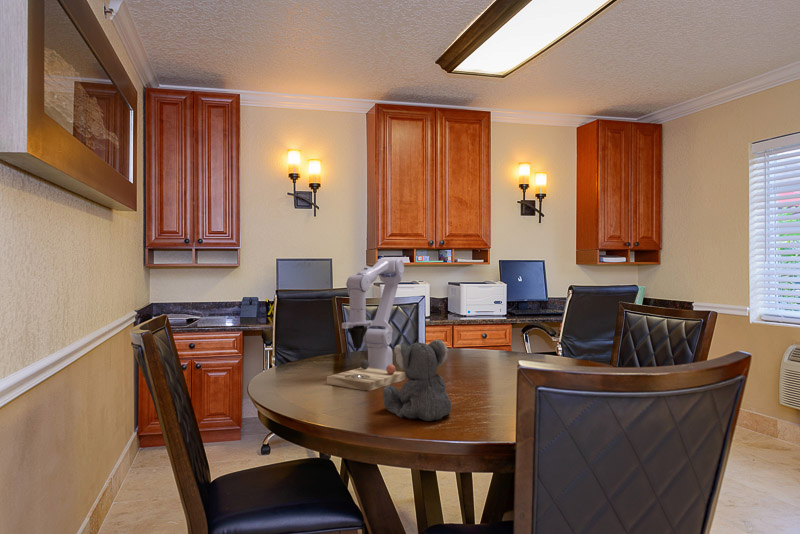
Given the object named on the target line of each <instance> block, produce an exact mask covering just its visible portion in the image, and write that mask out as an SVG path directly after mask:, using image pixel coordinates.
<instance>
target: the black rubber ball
mask: <svg viewBox="0 0 800 534" xmlns="http://www.w3.org/2000/svg"><path fill="white" fill-rule="evenodd" d="M359 365H360V368H363V369H366V368H368V367H369V362H368V359H363V360H361V361H360V362H359Z"/></svg>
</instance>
